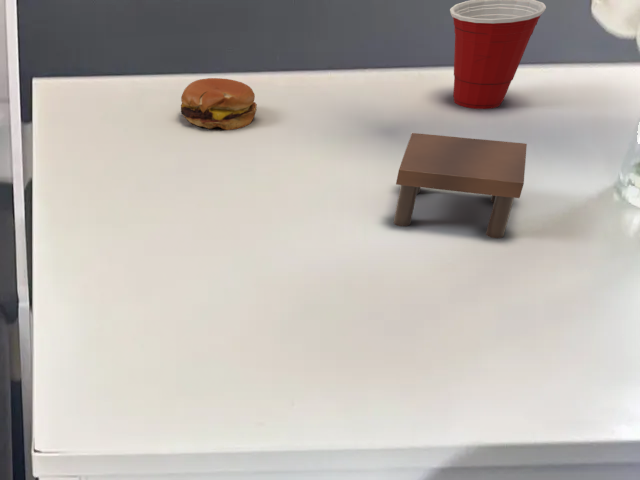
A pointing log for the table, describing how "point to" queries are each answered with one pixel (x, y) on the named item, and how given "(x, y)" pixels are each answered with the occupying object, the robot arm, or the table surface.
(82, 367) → the table surface
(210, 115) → the burger
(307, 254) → the table surface
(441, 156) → the stool
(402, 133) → the table surface
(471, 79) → the plastic cup
